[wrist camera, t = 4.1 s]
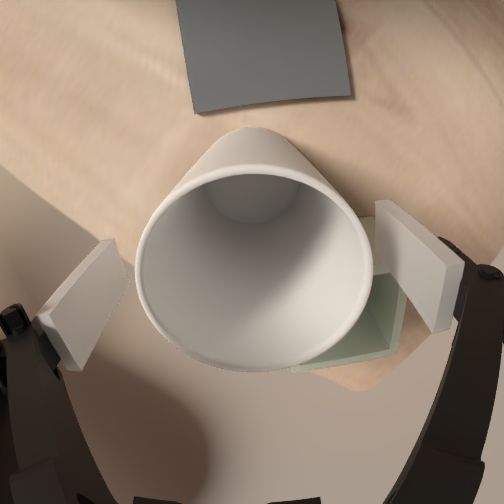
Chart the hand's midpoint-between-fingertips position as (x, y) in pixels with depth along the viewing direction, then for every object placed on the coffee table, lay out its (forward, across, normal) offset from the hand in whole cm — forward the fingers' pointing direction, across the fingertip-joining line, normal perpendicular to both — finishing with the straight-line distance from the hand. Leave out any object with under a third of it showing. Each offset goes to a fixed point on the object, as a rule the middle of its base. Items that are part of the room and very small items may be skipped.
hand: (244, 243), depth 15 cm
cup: (+11, 0, +1) cm, 11 cm away
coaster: (+11, +3, +13) cm, 17 cm away
